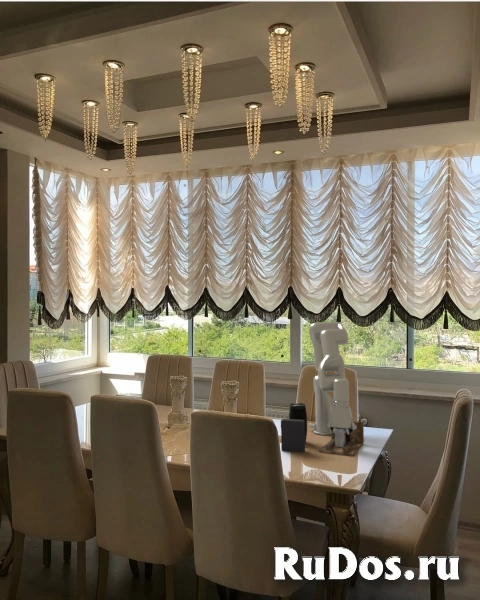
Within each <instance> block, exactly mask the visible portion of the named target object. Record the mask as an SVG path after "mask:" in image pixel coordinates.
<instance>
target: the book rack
mask: <svg viewBox="0 0 480 600" xmlns="http://www.w3.org/2000/svg"><path fill="white" fill-rule="evenodd" d="M352 421H353V422H354V424H355V425H356V427H357V428H356V429H355V430H353V431H352V432H351V433H350V441H349V443H348V444H347V445H346V446H345V447H344V448H341V447H335V439H334V433H333V431H332V434H331V439H330V440H329V441H328V442H327V443H326V444H324V445H323V446H322V447H321V448H319V450H318V453H322V454H323V453H325V454H331V455H340V456H348V457H353V456H354V455H355V454H357V452H358V451H359V450H361V448H362V447H363V445H364V444H365V437H364V434H365V432H364V421H357V420H352ZM351 428H353V426H351V427H350V429H351Z"/></svg>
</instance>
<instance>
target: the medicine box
mask: <svg viewBox="0 0 480 600" xmlns="http://www.w3.org/2000/svg"><path fill="white" fill-rule="evenodd" d="M346 434H347V432H346V429H344V428H337V429H335V447H341V448H344V447H345V446H346V445H347V444H348V443H349V442H348V443H346Z"/></svg>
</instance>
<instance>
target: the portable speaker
mask: <svg viewBox="0 0 480 600" xmlns="http://www.w3.org/2000/svg"><path fill="white" fill-rule="evenodd" d="M306 406H307V405H306V403H304V402H298V403H290V405H289V410H288V411H289V413H288V419H296V420H304V421H305V444H306V443H307V436H308V415H307V414H308V413H307V407H306Z"/></svg>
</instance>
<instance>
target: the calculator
mask: <svg viewBox="0 0 480 600" xmlns="http://www.w3.org/2000/svg"><path fill="white" fill-rule="evenodd" d="M280 431H281V432H280V433H281V434H280V435H281V437H280V438H281V439H280V443H281V445H280V447H281V452H288V453H289V452H290V453H292V452H293V453H302V454H303V453H304V452H306V443H305V421H304V420H296V419H289V418H282V419H281V420H280Z"/></svg>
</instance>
